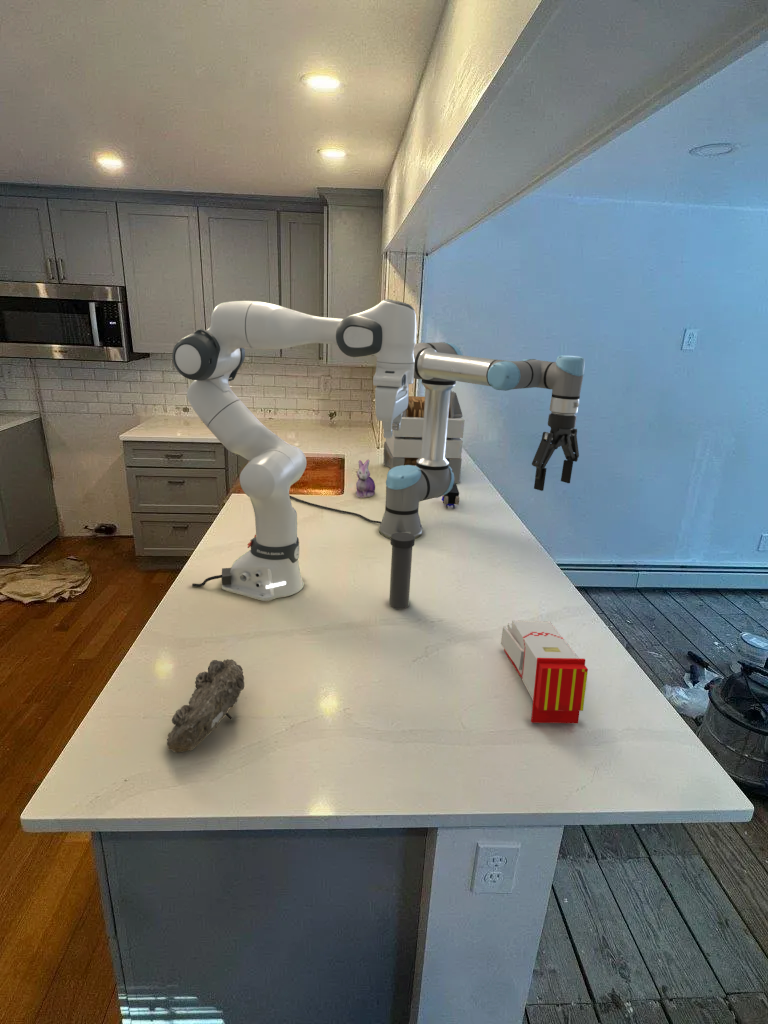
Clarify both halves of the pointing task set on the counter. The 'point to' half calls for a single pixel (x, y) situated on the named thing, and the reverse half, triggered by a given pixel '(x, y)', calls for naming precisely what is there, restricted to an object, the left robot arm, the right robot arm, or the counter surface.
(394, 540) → the lid
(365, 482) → the figurine
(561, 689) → the toy
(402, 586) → the dark gray cylinder
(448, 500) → the figurine character
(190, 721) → the fossil
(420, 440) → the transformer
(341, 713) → the counter surface
